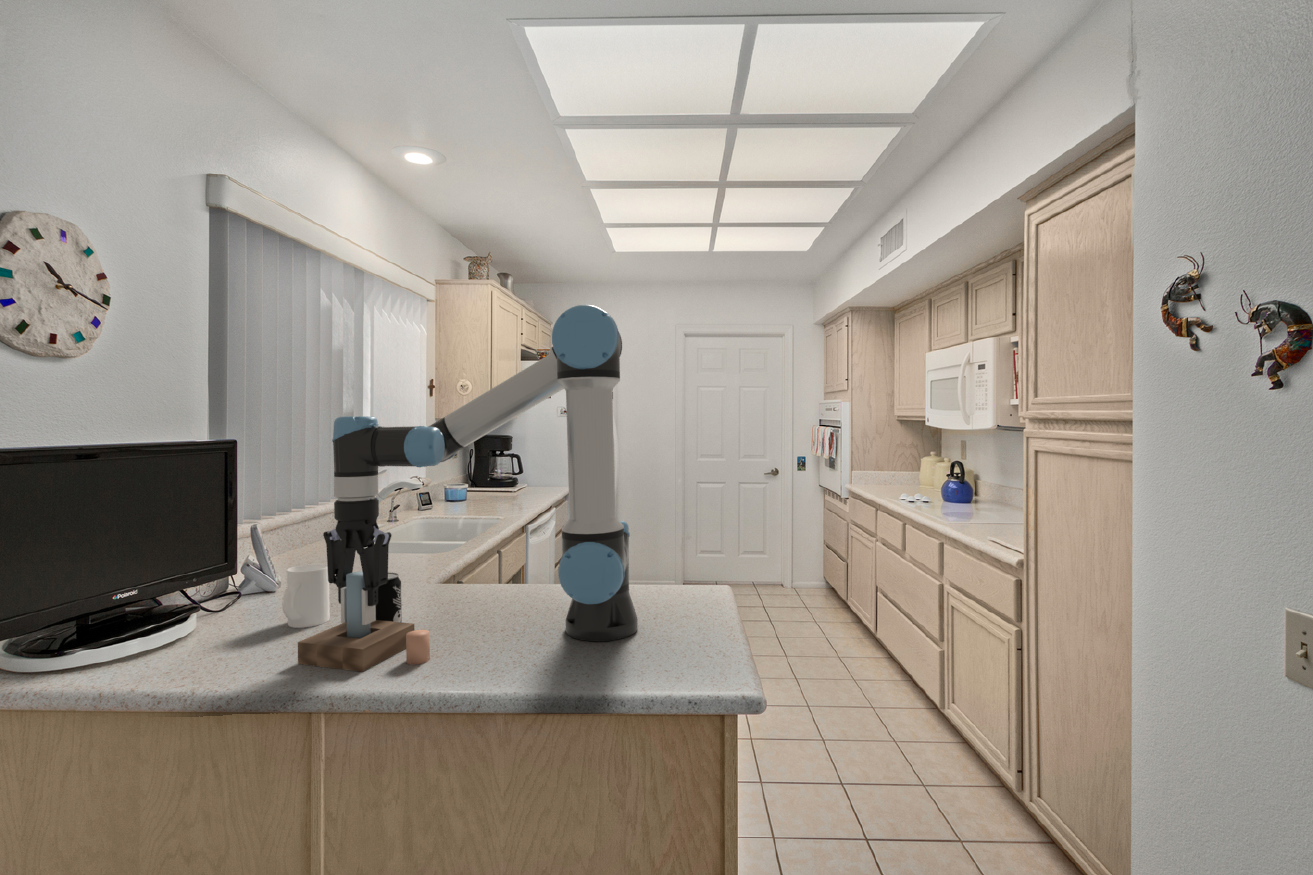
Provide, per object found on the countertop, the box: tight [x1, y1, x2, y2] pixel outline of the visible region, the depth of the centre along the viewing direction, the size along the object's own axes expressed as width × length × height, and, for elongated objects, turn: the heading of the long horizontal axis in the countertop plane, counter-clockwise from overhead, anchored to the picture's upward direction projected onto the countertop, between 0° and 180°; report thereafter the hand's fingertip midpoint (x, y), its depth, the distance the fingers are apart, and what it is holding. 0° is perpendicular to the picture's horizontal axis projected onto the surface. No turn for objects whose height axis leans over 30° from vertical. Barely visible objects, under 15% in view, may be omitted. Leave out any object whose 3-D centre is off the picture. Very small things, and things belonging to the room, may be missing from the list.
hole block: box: [297, 620, 415, 673], centre depth 114 cm, size 14×14×4 cm
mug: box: [281, 563, 331, 629], centre depth 130 cm, size 8×12×12 cm
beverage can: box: [375, 572, 403, 622], centre depth 125 cm, size 7×7×12 cm
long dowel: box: [346, 571, 371, 639], centre depth 114 cm, size 4×4×14 cm
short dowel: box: [405, 629, 431, 666], centre depth 111 cm, size 4×4×5 cm
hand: (358, 621), depth 114 cm, fingers closed on long dowel, 4 cm apart
